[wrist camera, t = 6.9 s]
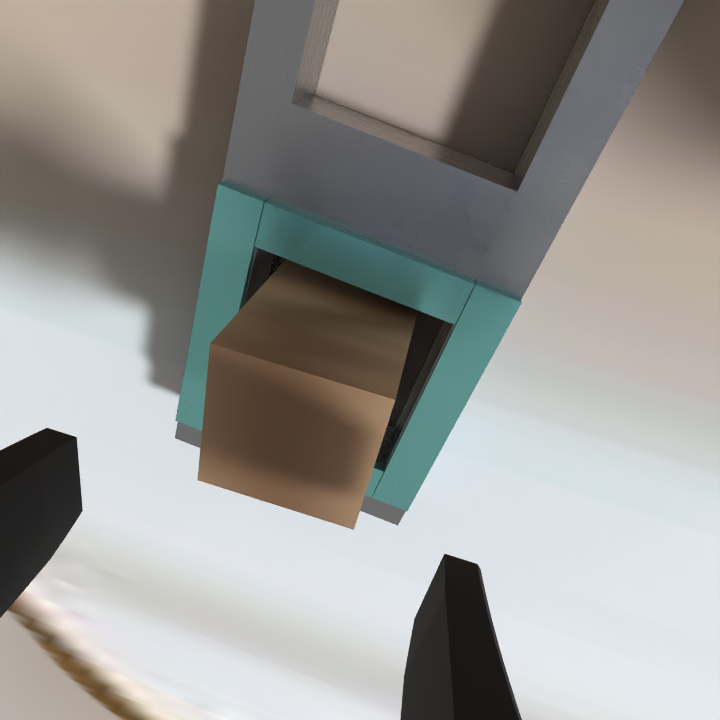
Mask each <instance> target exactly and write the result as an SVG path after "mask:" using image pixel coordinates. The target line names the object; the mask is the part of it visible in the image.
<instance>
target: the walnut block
mask: <svg viewBox="0 0 720 720" xmlns="http://www.w3.org/2000/svg"><path fill="white" fill-rule="evenodd" d="M417 313H418V310H416V309H413V308H411V307H408V306H405V305H403V304H400V303H398V302H395V301H393V300H390V299H388V298H385V297H382V296H380V295H377V294H375V293H372V292H370V291H367V290H365V289H362V288H359V287H357V286H354V285H352V284H349V283H347V282H344V281H341V280H339V279H336V278H334V277H331V276H329V275H326V274H324V273H321V272H318V271H316V270H313V269H311V268H308V267H306V266H303V265H301V264H298V263H295V262H293V261H290V260H288V259H286V260H285V261H284V262H283V263H282V264H281V265H280V266H279V267H278V269H277V270H276V271H275V272H274V273H273V274H272V275H271V276H270V277H269V279H268V280H267V281H266V282H265V283H264V284H263V285H262V286H261V287H260V289H259V290H258V291H257V292H256V293H255V294H254V295H253V296H252V297H251V299H250V300H249V301H248V302H247V303H246V304H245V305H244V306H243V307H242V308H241V310H240V311H239V312H238V313H237V314H236V315H235V316H234V317H233V318H232V320H231V321H230V322H229V323H228V324H227V325H226V326H225V327H224V328H223V330H222V331H221V332H220V333H219V334H218V335H217V336H216V337H215V338H214V340H213V341H212V342H211V343H210V348H209V359H208V370H207V381H206V393H205V404H204V415H203V426H202V437H201V448H200V460H199V471H198V480H199V481H202V482H205V483H209V484H212V485H215V486H218V487H221V488H224V489H228V490H231V491H234V492H237V493H240V494H243V495H246V496H250V497H253V498H256V499H259V500H262V501H265V502H269V503H272V504H275V505H278V506H281V507H284V508H287V509H291V510H294V511H297V512H300V513H303V514H306V515H309V516H313V517H316V518H319V519H322V520H325V521H328V522H332V523H335V524H338V525H341V526H344V527H347V528H350V529H354V527H355V524H356V521H357V518H358V515H359V512H360V509H361V505H362V502H363V499H364V496H365V493H366V490H367V487H368V484H369V481H370V477H371V474H372V471H373V468H374V465H375V462H376V459H377V456H378V453H379V449H380V446H381V443H382V440H383V437H384V434H385V431H386V428H387V425H388V422H389V418H390V415H391V412H392V409H393V406H394V403H395V400H396V396H397V392H398V388H399V384H400V380H401V376H402V372H403V368H404V364H405V360H406V356H407V352H408V348H409V344H410V340H411V336H412V332H413V328H414V325H415V321H416V317H417Z"/></svg>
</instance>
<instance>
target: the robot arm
mask: <svg viewBox="0 0 720 720" xmlns="http://www.w3.org/2000/svg"><path fill="white" fill-rule="evenodd" d="M82 511H83V510H82V498H81V486H80V473H79V461H78V449H77V437H74V436H71V435H68V434H65V433H62V432H58V431H55V430H52V429H49V428H46V429H44V430H41V431H39V432H37V433H35V434H33V435H31V436H29V437H27V438H25V439H23V440H21V441H19V442H16V443H14V444H12V445H10V446H8V447H6V448H4V449H2V450H0V618H1V616H2V615H3V614H4V613H5V612H6V611H7V610H8V608H9V607H10V606H11V605H12V604H13V603H14V601H15V600H16V599H17V598H18V597H19V596H20V594H21V593H22V592H23V591H24V590H25V588H26V587H27V586H28V585H29V584H30V583H31V581H32V580H33V579H34V578H35V577H36V575H37V574H38V573H39V572H40V571H41V570H42V568H43V567H44V566H45V565H46V564H47V562H48V561H49V560H50V559H51V557H52V556H53V554H54V553H55V551H56V550H57V549H58V547H59V546H60V544H61V543H62V541H63V540H64V538H65V537H66V535H67V534H68V532H69V531H70V529H71V528H72V526H73V525H74V523H75V522H76V520H77V519H78V517H79V515H80V514H81V512H82ZM401 720H522V719H521V716H520V713H519V710H518V707H517V704H516V701H515V698H514V694H513V691H512V688H511V685H510V682H509V678H508V675H507V672H506V669H505V665H504V662H503V659H502V655H501V652H500V648H499V645H498V641H497V637H496V633H495V630H494V626H493V622H492V618H491V614H490V610H489V606H488V602H487V597H486V593H485V588H484V584H483V579H482V574H481V570H480V568H479V566H478V565H477V564H475V563H472V562H469V561H466V560H463V559H459V558H456V557H453V556H450V555H447V554H444V556H443V558H442V560H441V562H440V565H439V567H438V569H437V571H436V573H435V576H434V578H433V580H432V582H431V584H430V586H429V589H428V591H427V593H426V595H425V597H424V599H423V602H422V604H421V606H420V608H419V610H418V613H417V615H416V617H415V619H414V625H413V630H412V636H411V641H410V646H409V652H408V658H407V663H406V669H405V675H404V685H403V697H402V709H401Z"/></svg>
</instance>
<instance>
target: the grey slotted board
mask: <svg viewBox="0 0 720 720" xmlns="http://www.w3.org/2000/svg"><path fill="white" fill-rule="evenodd" d="M338 1H339V0H255V3H254V9H253V14H252V20H251V25H250V31H249V36H248V41H247V47H246V52H245V58H244V63H243V69H242V74H241V80H240V85H239V91H238V96H237V102H236V107H235V113H234V118H233V123H232V129H231V134H230V140H229V145H228V151H227V156H226V162H225V167H224V173H223V178H222V182H221V183H219V184H218V187H217V192H216V198H215V203H214V209H213V214H212V220H211V226H210V231H209V237H208V242H207V248H206V253H205V259H204V265H203V270H202V276H201V281H200V287H199V292H198V298H197V304H196V309H195V315H194V320H193V326H192V332H191V337H190V343H189V348H188V354H187V359H186V365H185V371H184V376H183V382H182V387H181V393H180V398H179V404H178V410H177V415H176V421H178V424H177V430H176V435H175V438H176V439H179V440H181V441H184V442H186V443H189V444H191V445H194V446H196V447H199V448H201V437H202V426H203V415H204V404H205V393H206V381H207V370H208V359H209V348H210V343H211V342H212V341H213V340H214V338H215V337H216V336H217V335H218V334H219V333H220V332H221V331H222V330H223V328H224V327H225V326H226V325H227V324H228V323H229V322H230V321H231V320H232V318H233V317H234V316H235V315H236V314H237V313H238V312H239V311H240V310H241V308H242V307H243V306H244V305H245V304H246V303H247V302H248V301H249V300H250V299H251V297H252V296H253V295H254V294H255V293H256V292H257V291H258V290H259V289H260V287H261V286H262V285H263V284H264V283H265V282H266V281H267V280H268V277H269V273H270V269H271V265H272V261H273V257H274V254H275V255H278V256H280V257H283V258H285V259H288V260H290V261H293V262H295V263H298V264H301V265H303V266H306V267H308V268H311V269H313V270H316V271H318V272H321V273H324V274H326V275H329V276H331V277H334V278H336V279H339V280H341V281H344V282H347V283H349V284H352V285H354V286H357V287H359V288H362V289H365V290H367V291H370V292H372V293H375V294H377V295H380V296H382V297H385V298H388V299H390V300H393V301H395V302H398V303H400V304H403V305H405V306H408V307H411V308H413V309H416V310H418V311H421V312H423V313H426V314H428V315H431V316H434V317H436V318H439V319H441V320H444V323H443V325H442V327H441V329H440V331H439V334H438V336H437V338H436V340H435V342H434V344H433V346H432V348H431V351H430V353H429V355H428V357H427V359H426V361H425V363H424V365H423V368H422V370H421V372H420V374H419V376H418V378H417V380H416V382H415V385H414V387H413V389H412V391H411V393H410V395H409V397H408V399H407V402H406V404H405V406H404V408H403V410H402V412H401V414H400V416H399V419H398V421H397V423H396V425H395V427H393V426H390V425H387V428H386V431H385V434H384V437H383V440H382V443H381V446H380V449H379V453H378V456H377V459H376V462H375V465H374V468H373V471H372V474H371V477H370V481H369V484H368V487H367V490H366V493H365V496H364V499H363V502H362V505H361V509H360V511H363V512H365V513H368V514H370V515H373V516H375V517H378V518H380V519H383V520H386V521H388V522H391V523H393V524H396V525H398V524H399V522H400V520H401V519H402V517H403V515H404V513H405V511H408V509H409V507H410V505H411V503H412V502H413V500H414V498H415V496H416V494H417V492H418V491H419V489H420V487H421V485H422V483H423V481H424V480H425V478H426V476H427V474H428V472H429V471H430V469H431V467H432V465H433V463H434V461H435V460H436V458H437V456H438V454H439V452H440V450H441V449H442V447H443V445H444V443H445V441H446V440H447V438H448V436H449V434H450V432H451V430H452V429H453V427H454V425H455V423H456V421H457V419H458V418H459V416H460V414H461V412H462V410H463V409H464V407H465V405H466V403H467V401H468V399H469V398H470V396H471V394H472V392H473V390H474V388H475V387H476V385H477V383H478V381H479V379H480V378H481V376H482V374H483V372H484V370H485V368H486V367H487V365H488V363H489V361H490V359H491V357H492V356H493V354H494V352H495V350H496V348H497V347H498V345H499V343H500V341H501V339H502V337H503V336H504V334H505V332H506V330H507V328H508V326H509V325H510V323H511V321H512V319H513V317H514V316H515V314H516V312H517V310H518V308H519V306H520V305H521V299H522V297H523V295H524V293H525V291H526V290H527V288H528V286H529V284H530V282H531V280H532V279H533V277H534V275H535V273H536V271H537V269H538V268H539V266H540V264H541V262H542V260H543V258H544V257H545V255H546V253H547V251H548V249H549V247H550V246H551V244H552V242H553V240H554V238H555V236H556V235H557V233H558V231H559V229H560V227H561V225H562V224H563V222H564V220H565V218H566V216H567V214H568V213H569V211H570V209H571V207H572V205H573V203H574V202H575V200H576V198H577V196H578V194H579V192H580V191H581V189H582V187H583V185H584V183H585V181H586V180H587V178H588V176H589V174H590V172H591V171H592V169H593V167H594V165H595V163H596V161H597V160H598V158H599V156H600V154H601V152H602V150H603V149H604V147H605V145H606V143H607V141H608V139H609V138H610V136H611V134H612V132H613V130H614V128H615V127H616V125H617V123H618V121H619V119H620V117H621V116H622V114H623V112H624V110H625V108H626V106H627V105H628V103H629V101H630V99H631V97H632V95H633V94H634V92H635V90H636V88H637V86H638V84H639V83H640V81H641V79H642V77H643V75H644V73H645V72H646V70H647V68H648V66H649V64H650V62H651V61H652V59H653V57H654V55H655V53H656V51H657V50H658V48H659V46H660V44H661V42H662V40H663V39H664V37H665V35H666V33H667V31H668V29H669V28H670V26H671V24H672V22H673V20H674V18H675V17H676V15H677V13H678V11H679V9H680V7H681V6H682V4H683V2H684V0H595V2H594V4H593V6H592V8H591V10H590V13H589V15H588V17H587V19H586V21H585V23H584V25H583V27H582V30H581V32H580V34H579V36H578V38H577V40H576V42H575V44H574V47H573V49H572V51H571V53H570V55H569V57H568V59H567V61H566V64H565V66H564V68H563V70H562V72H561V74H560V76H559V78H558V81H557V83H556V85H555V87H554V89H553V91H552V93H551V95H550V98H549V100H548V102H547V104H546V106H545V108H544V110H543V112H542V115H541V117H540V119H539V121H538V123H537V125H536V127H535V129H534V132H533V134H532V136H531V138H530V140H529V142H528V144H527V146H526V149H525V151H524V153H523V155H522V157H521V159H520V161H519V163H518V166H517V168H516V170H515V172H514V173H512V172H509V171H507V170H504V169H502V168H499V167H496V166H494V165H491V164H489V163H486V162H484V161H481V160H479V159H476V158H473V157H471V156H468V155H466V154H463V153H461V152H458V151H455V150H453V149H450V148H448V147H445V146H443V145H440V144H438V143H435V142H432V141H430V140H427V139H425V138H422V137H420V136H417V135H414V134H412V133H409V132H407V131H404V130H402V129H399V128H397V127H394V126H391V125H389V124H386V123H384V122H381V121H379V120H376V119H374V118H371V117H368V116H366V115H363V114H361V113H358V112H356V111H353V110H350V109H348V108H345V107H343V106H340V105H338V104H335V103H333V102H330V101H327V100H325V99H322V98H320V97H317V96H315V92H316V88H317V84H318V80H319V76H320V72H321V68H322V64H323V60H324V56H325V52H326V48H327V44H328V40H329V36H330V32H331V28H332V24H333V21H334V17H335V13H336V9H337V5H338Z"/></svg>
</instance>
